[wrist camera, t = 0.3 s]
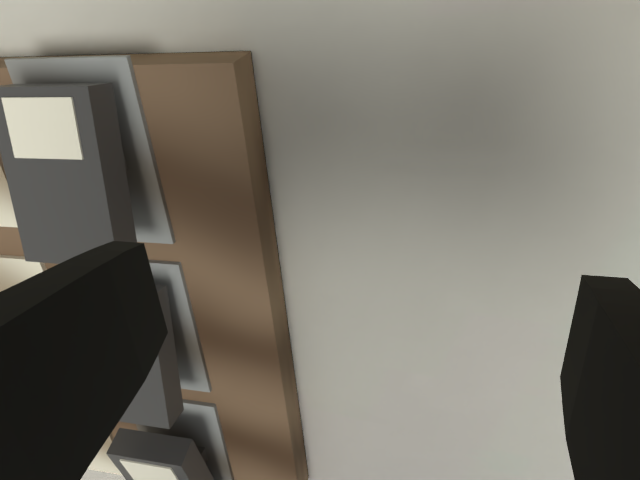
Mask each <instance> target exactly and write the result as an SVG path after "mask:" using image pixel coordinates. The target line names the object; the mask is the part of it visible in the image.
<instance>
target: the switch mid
mask: <svg viewBox="0 0 640 480" xmlns="http://www.w3.org/2000/svg"><path fill="white" fill-rule="evenodd" d="M155 286H156V289H157V293H158V297H159V301H160V304H161V308H162V312H163V315H164V319H165V323H166V327H167V330H168V334H167V336H166V338H165V340H164V342H163V345H162V347H161V349H160V351H159V354H158V356H157V358H156V360H155V362H154V364H153V366H152V368H151V370H150V372H149V374H148V376H147V378H146V380H145V382H144V383H143V385H142V386H141V388H140V390H139V391H138V393H137V394H136V396H135V397H134V399H133V401H132V402H131V404H130V405H129V407H128V408H127V410H126V411H125V413H124V414H123V416H122V417H121V419H120V421H119V422H126V423H132V424H139V425H145V426H152V427H158V428H165V429H170V428H171V427H172V425H173V424H174V423H175V421H176V420H177V419H178V417H179V416H180V415H181V413H182V412H183V411H184V406H183V399H182V392H181V385H180V378H179V370H178V363H177V356H176V349H175V341H174V334H173V327H172V320H171V313H170V305H169V298H168V291H167V285H165V284H155Z"/></svg>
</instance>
